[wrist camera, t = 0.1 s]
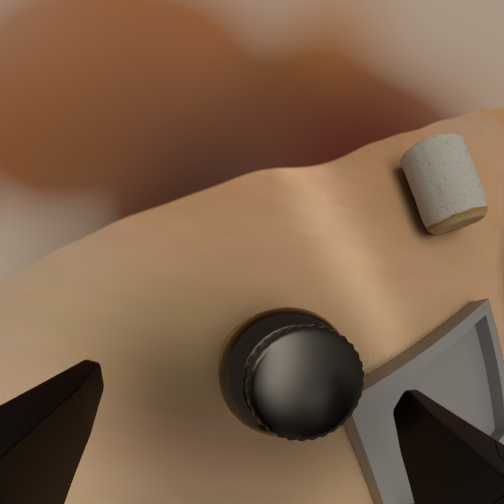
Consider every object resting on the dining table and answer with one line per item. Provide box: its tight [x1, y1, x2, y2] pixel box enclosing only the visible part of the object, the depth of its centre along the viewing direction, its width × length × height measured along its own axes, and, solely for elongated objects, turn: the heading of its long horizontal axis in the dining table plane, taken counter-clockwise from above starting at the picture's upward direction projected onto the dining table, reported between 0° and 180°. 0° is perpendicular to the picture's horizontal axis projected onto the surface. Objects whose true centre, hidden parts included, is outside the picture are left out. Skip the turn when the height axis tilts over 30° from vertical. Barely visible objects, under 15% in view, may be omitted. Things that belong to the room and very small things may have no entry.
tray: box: [344, 299, 504, 504], centre depth 20 cm, size 18×18×3 cm
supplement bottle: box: [219, 307, 364, 441], centre depth 16 cm, size 7×7×12 cm
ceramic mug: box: [401, 133, 487, 235], centre depth 24 cm, size 11×8×8 cm
